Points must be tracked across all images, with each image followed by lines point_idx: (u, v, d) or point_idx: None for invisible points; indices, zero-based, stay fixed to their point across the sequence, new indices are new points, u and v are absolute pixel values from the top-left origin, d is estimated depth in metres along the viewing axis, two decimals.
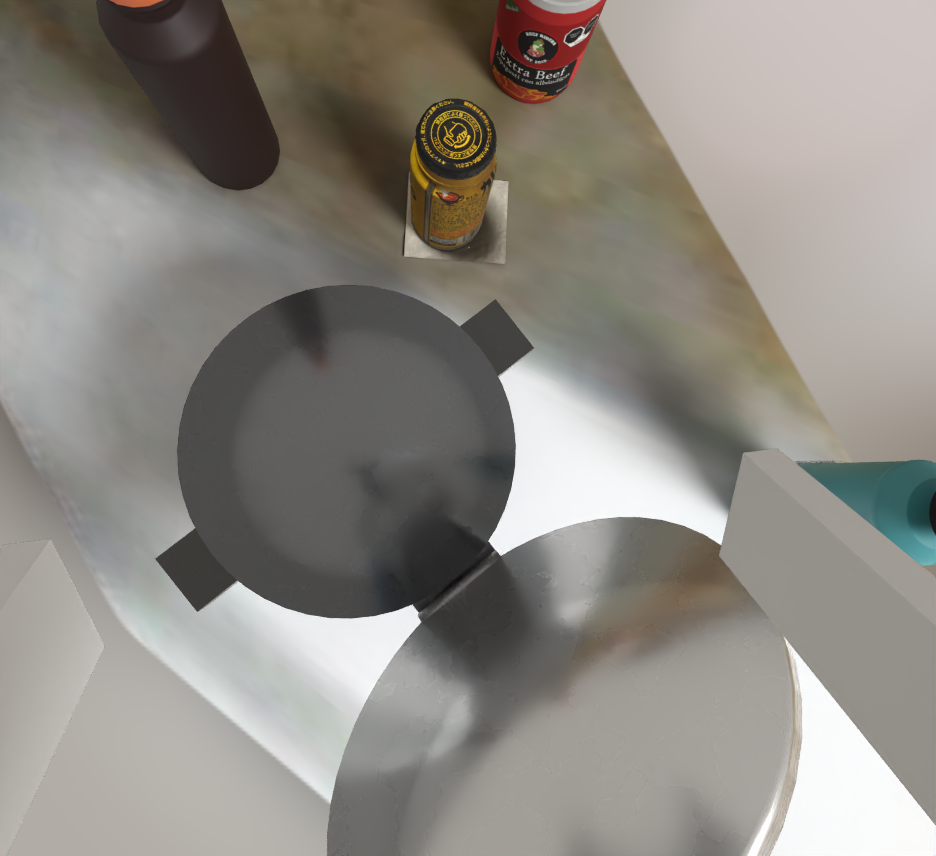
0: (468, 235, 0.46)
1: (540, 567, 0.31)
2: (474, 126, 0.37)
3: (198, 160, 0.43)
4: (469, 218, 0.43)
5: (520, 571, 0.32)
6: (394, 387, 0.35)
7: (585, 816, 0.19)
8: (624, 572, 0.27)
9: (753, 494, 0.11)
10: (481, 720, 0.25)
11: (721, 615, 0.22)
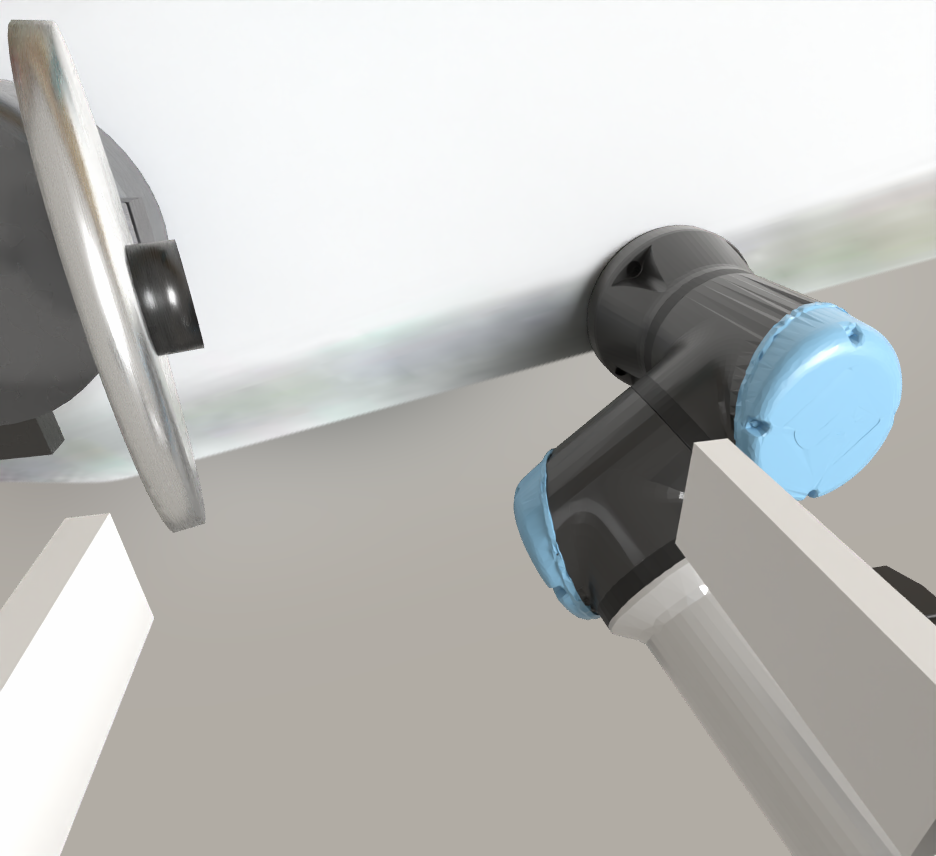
0: None
1: None
2: None
3: None
4: None
5: None
6: None
7: None
8: None
9: (703, 482, 0.12)
10: None
11: None
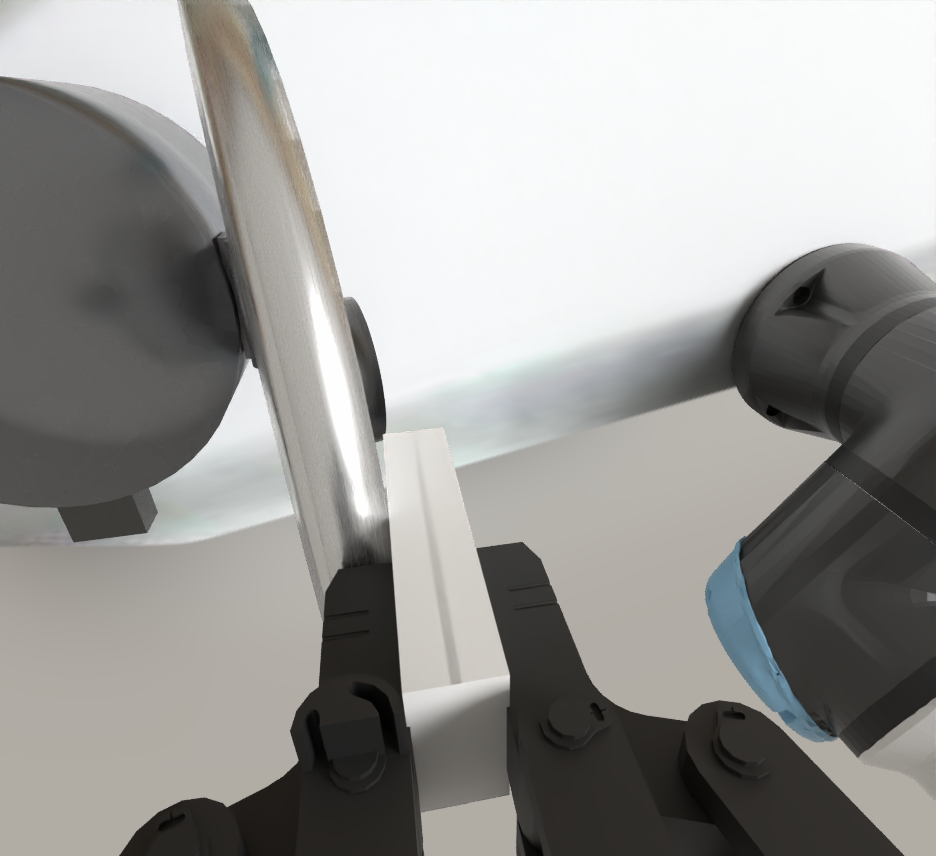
0: None
1: (226, 226, 0.22)
2: None
3: None
4: None
5: (230, 247, 0.23)
6: None
7: (302, 503, 0.14)
8: (213, 157, 0.17)
9: None
10: (281, 443, 0.20)
11: (210, 117, 0.12)
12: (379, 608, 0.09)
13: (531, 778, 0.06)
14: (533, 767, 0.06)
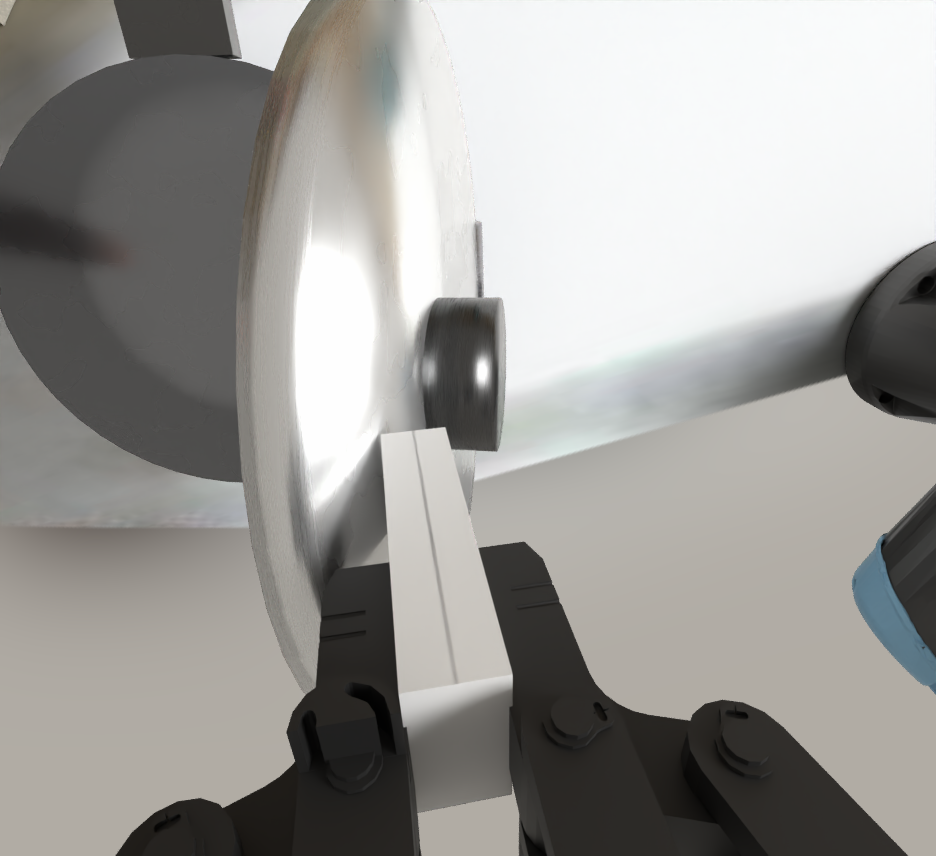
0: None
1: None
2: None
3: None
4: None
5: None
6: (180, 210, 0.25)
7: None
8: None
9: None
10: None
11: None
12: (376, 608, 0.09)
13: (534, 777, 0.06)
14: (536, 766, 0.06)
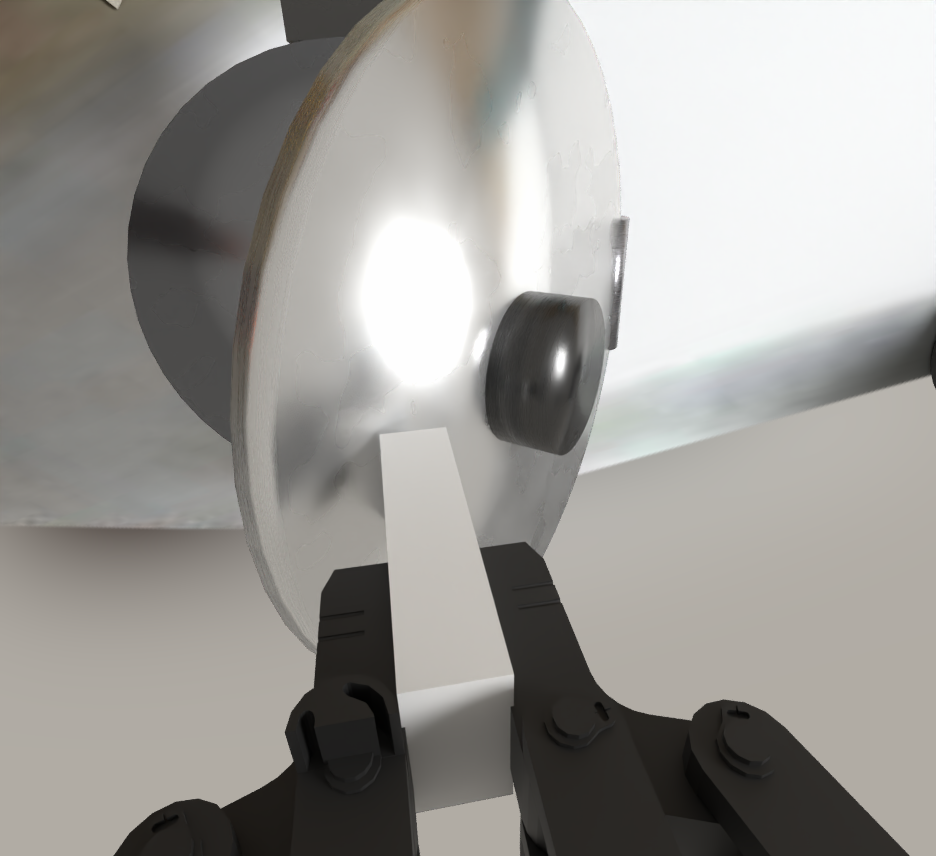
0: None
1: None
2: None
3: None
4: None
5: None
6: None
7: None
8: None
9: None
10: None
11: None
12: (375, 608, 0.09)
13: (535, 777, 0.06)
14: (537, 766, 0.06)
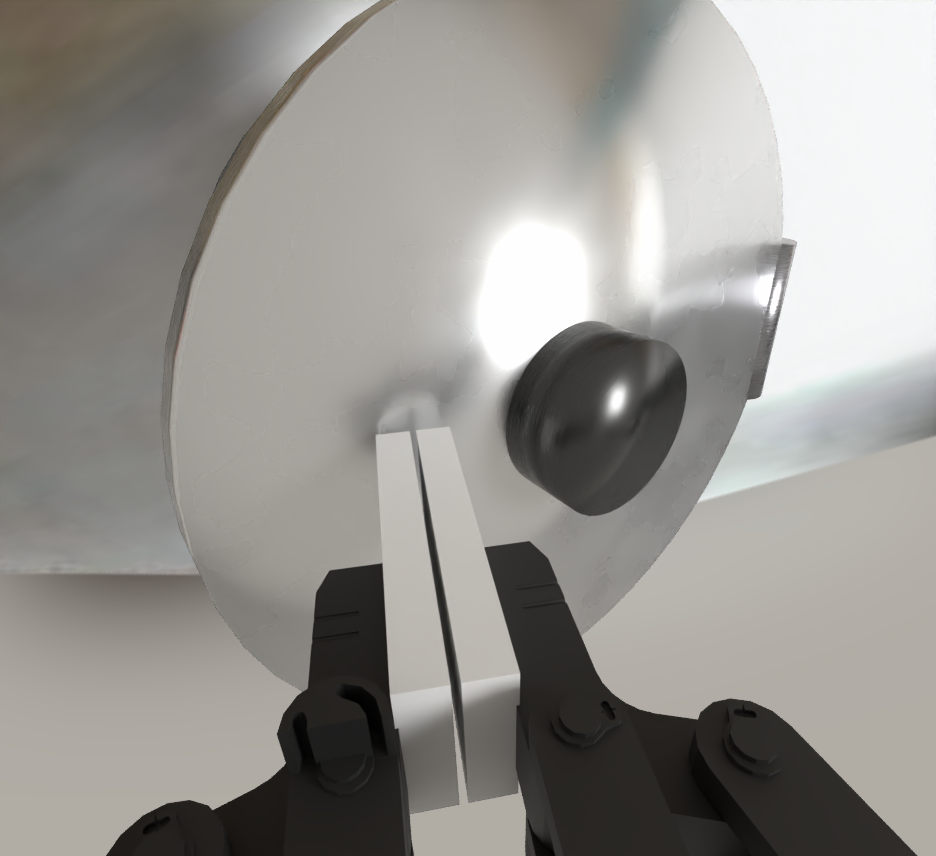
0: None
1: None
2: None
3: None
4: None
5: None
6: None
7: None
8: None
9: (420, 467, 0.13)
10: None
11: None
12: (369, 609, 0.09)
13: (542, 775, 0.06)
14: (544, 764, 0.06)
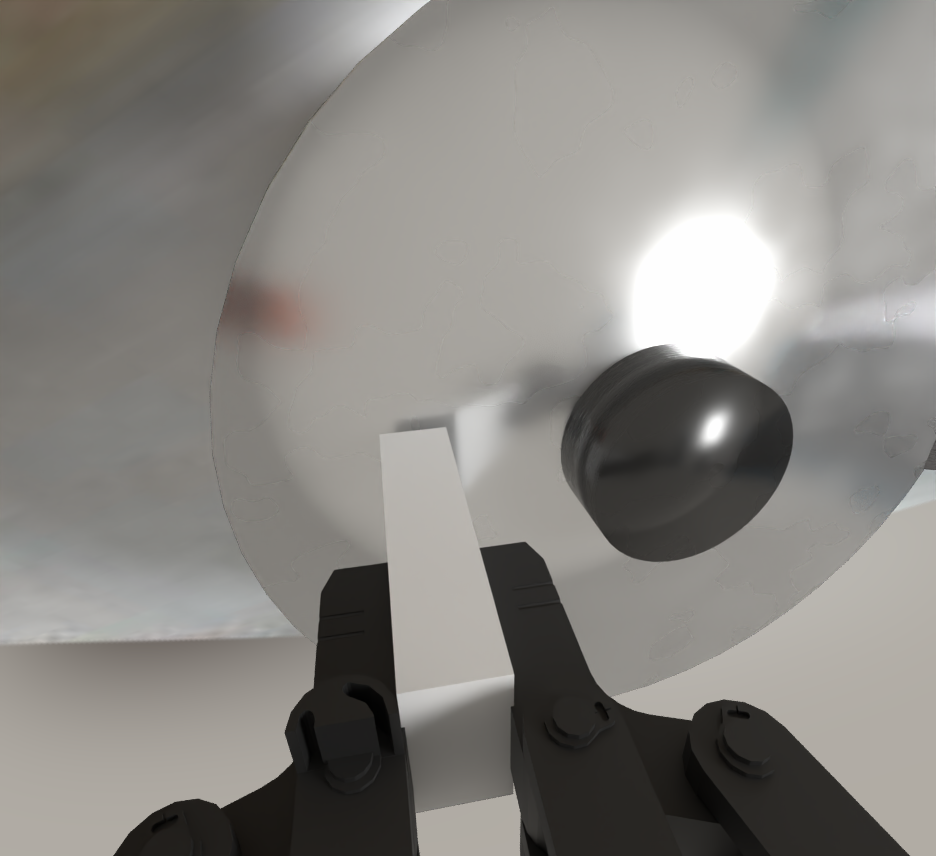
0: None
1: None
2: None
3: None
4: None
5: None
6: None
7: None
8: None
9: None
10: None
11: None
12: (374, 608, 0.09)
13: (536, 776, 0.06)
14: (538, 766, 0.06)
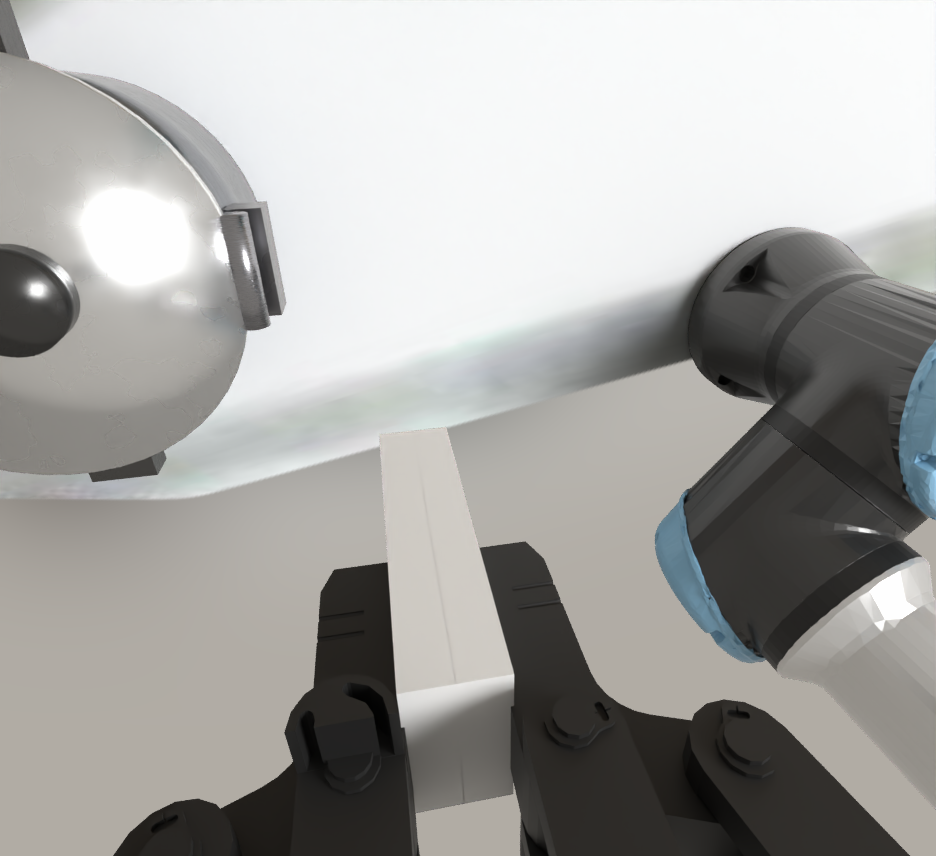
0: None
1: None
2: None
3: None
4: None
5: None
6: None
7: None
8: None
9: None
10: None
11: None
12: (374, 609, 0.09)
13: (536, 777, 0.06)
14: (538, 766, 0.06)
